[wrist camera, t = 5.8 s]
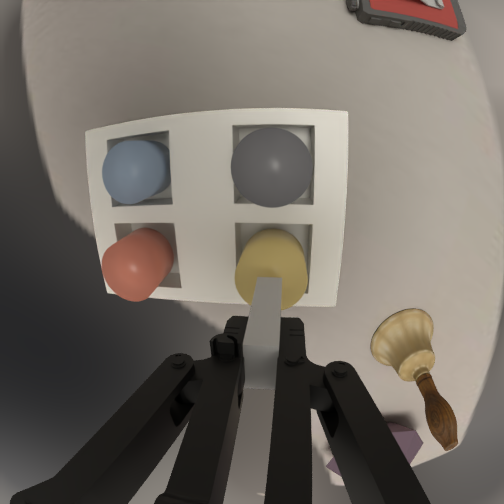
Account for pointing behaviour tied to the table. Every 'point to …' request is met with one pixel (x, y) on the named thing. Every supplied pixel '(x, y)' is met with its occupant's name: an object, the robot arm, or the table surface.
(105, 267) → the button brick
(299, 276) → the button mustard
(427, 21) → the walkie-talkie
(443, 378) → the table surface
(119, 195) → the button slate
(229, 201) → the console
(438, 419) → the hand bell
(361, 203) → the table surface
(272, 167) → the button charcoal
